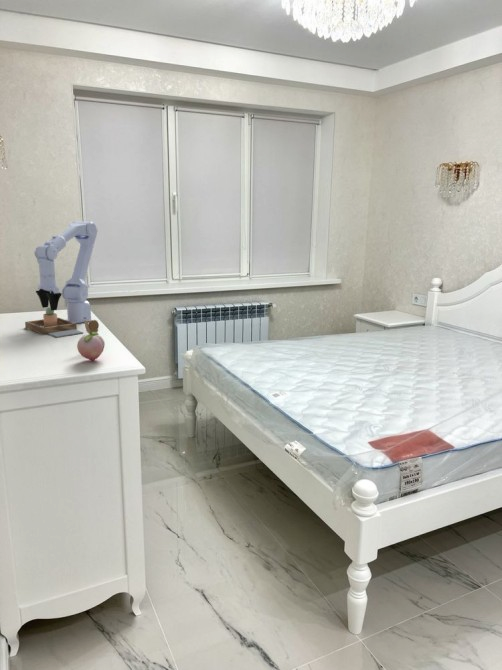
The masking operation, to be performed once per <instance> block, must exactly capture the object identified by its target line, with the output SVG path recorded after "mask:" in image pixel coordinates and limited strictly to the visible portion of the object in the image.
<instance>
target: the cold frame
mask: <svg viewBox="0 0 502 670" xmlns="http://www.w3.org/2000/svg"><path fill="white" fill-rule="evenodd" d="M57 324H58V326H52V327H45V328H44V319H43V318H42V319H35V320H29V321H28V320H27V321H24V325H25V327H24V328H25V329H28V330H29V331H33V332H36V333H38V334H41V335H48V333H53V332H59V331H66V330H72V329H75V330H78V329H77V323H73V322H70V321H67V320H66V319H64V318H60V317H58V316H57Z"/></svg>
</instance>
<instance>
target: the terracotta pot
mask: <svg viewBox="0 0 502 670" xmlns="http://www.w3.org/2000/svg"><path fill="white" fill-rule="evenodd" d="M42 317H43V318H42V319H44V326H43V327H44V328H45V327H52V326H59V324H57V317H58V313H55V310H51V308H50V307H46V309H45V313H43V316H42Z"/></svg>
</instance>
